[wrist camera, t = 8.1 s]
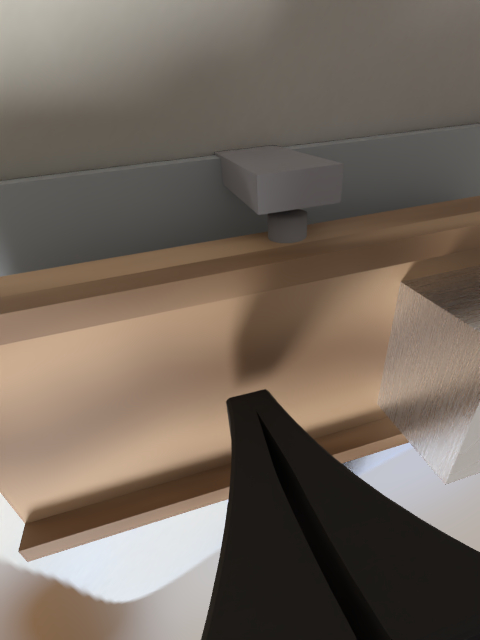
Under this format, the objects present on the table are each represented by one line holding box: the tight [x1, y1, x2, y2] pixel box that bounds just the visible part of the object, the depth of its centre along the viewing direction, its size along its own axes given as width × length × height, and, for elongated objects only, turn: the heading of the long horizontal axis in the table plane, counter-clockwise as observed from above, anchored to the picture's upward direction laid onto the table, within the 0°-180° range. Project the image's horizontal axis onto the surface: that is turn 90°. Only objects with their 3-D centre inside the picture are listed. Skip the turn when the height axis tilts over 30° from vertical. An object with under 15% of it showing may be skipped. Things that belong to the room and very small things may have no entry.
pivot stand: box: [0, 123, 480, 277], centre depth 15 cm, size 14×26×6 cm, turn 94°
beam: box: [0, 196, 480, 562], centre depth 13 cm, size 11×22×3 cm, turn 94°
